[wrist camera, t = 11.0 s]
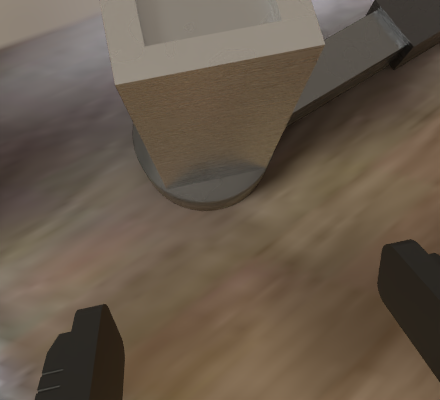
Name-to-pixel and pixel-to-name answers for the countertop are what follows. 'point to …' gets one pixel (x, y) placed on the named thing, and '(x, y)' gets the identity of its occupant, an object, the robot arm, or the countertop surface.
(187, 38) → the socket
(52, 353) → the robot arm
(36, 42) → the countertop surface
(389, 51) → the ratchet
